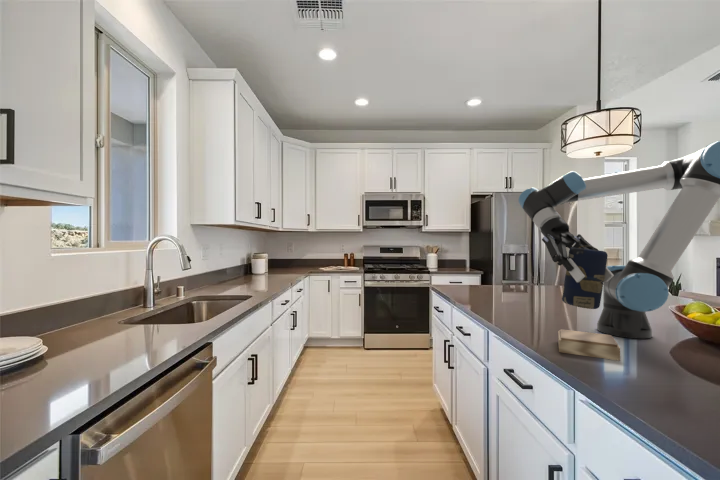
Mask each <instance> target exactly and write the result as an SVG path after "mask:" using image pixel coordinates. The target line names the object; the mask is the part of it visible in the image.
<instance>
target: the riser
mask: <svg viewBox="0 0 720 480" xmlns="http://www.w3.org/2000/svg"><path fill="white" fill-rule="evenodd" d="M557 333H558V334H557V340H558V341H557V342H558V352H559V353H564V354H570V355H577V356H578V355H579V356H584V357H592V358H597V359H606V360H611V361H612V360H613V361H618V362H619V361H621V347H620V346H619V344H618V342H617V341H616V339H615V337H613V335H610V334H606V333H596V332H589V331H588V332H587V331H580V330H579V331H578V330H569V329H562V328H561V329H560V330H558V332H557Z"/></svg>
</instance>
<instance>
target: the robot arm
mask: <svg viewBox="0 0 720 480" xmlns="http://www.w3.org/2000/svg"><path fill="white" fill-rule="evenodd" d="M660 189H665V190H666V191H673V190H680V191H679V193H678V194H677V195H676V197H675V199H674V200H673V201H672V203H671V205H670V206H669V208H668V209H667V212H666V213H665V214H664V216H663V217H662V219H661V220H660V222H659V224H658V226H657V227H656V228H655V229H654V231H653V233H652V235H651V236H650V238H649V239H648V241H647V242H646V244H645V246H644V247H643V249H642V251H640V253H639V255H638V257H636V258H632V259H629V260H628V262H627V263H626V265H619V264H617V265H606V270H605V280H604V282H603V289H602V294H603V295H602V296H603V297H602V298H603V299H602V300H603V301H602V302H603V303H602V304H603V305H602V306H603V307H602V310H601V312H600V315H599V317H598V320H597V323H596V329H597V331H599V332H601V333H602V334H606V335H612V336H614V337H620V338H621V337H622V338H629V339H640V340H641V339H650V338H652V337H653V330H652V326H651V323H650V321H649V318H648V315H647V313H648V312H653V311H656V310H658V309H660V308H661V307H663V306H664V305H665V303H667V300H668V299H669V287H670V285H671V284H672V282H673V281H674V279H675V278H674V276H673V273H672V270H673V268H674V267H675V266H676V264H677V263H678V261H679V260H680V258H681V257H682V255H683V254H684V252H685V250H686V249H687V247H688V246H689V245H690V243H691V242H692V240H693V239H694V237H695V235H696V234H697V232H698V231H699V229H700V228H701V226H702V225H703V223H705V221H706V219H707V217H708V216H709V215H710V213H711V212H712V210H713V208H714V207H715V206H716V204H717V203H718V201H719V199H720V140H717V141H714V142H711V143H709V144H708V145H706V146H704V147H702V148H701V149H699V150H697V151H694V152H692V153H689V154H688V155H685V156H683V157H680V158H676V159H672V160H667V161H663V163H661V164H660V165H657V166H650V167H645V168H644V167H643V168H637V169H633V170H627V171H621V172H616V173H610V174H603V175H599V176H598V175H597V176H593V177H588V178H587V177H586V178H583V177H582V176H581V174H580V173H578V172H577V171H576V170H571V171H569V172H567V173H566V174H563V175H562V176H560V177H559V178H557V179H556V180H554V181H552V182H551V183H548V185H546V186H544V187H542V188H540V189H538V188H536V187H530V188H526V189H525V190H523V191H522V192H521V193H520V194H519V196H518V204H519V205H520V207H521V208H522V209H523V211H524V212H525V214H526V215H527V216H528V218H529V219H530V220H531V221H532V223H534V225H535V226H536V227H537V229H538V230H539V231H540V233H541V234H542V235H543V237H542V238H541V241H542V242H543V243H544V244H545V246H546V248H547V251H548V253H549V255H550V257H551V260H552V262H553V263H557V265H558V266H560V267H561V266H562V265H563V267H564V269H565V271H566V270H567V271H569V273H570V274H571V275H572V277H573V278H574V279H575V281H576V282H580V281H581V280H582V279H583V278H584V277H585V275H584V274H583V273H582V271H581V270H580V269H579V268H578V266H577V265H576V264H575V263H574V261H573V260H572V259H571V258H569V259H568V252H567V248H568V249H569V250H570V249H571V248H579V247H581V246H592V247H594V246H593V245H592V244H591V243H589V242H588V241H587V240H586V239H585V238H584V237H583V235H581V234H577V235H574V234H572V233H571V232H570V226H569V224H568V222H566V220H565V219H564V218H563V217H562V216H561V215H560V213H558V211H557V210H556V209H555V207H558V206H559V205H564V204H567V203H573V202H579V201H584V200H585V201H586V200H591V199H598V198H605V197H606V198H607V197H612V196H613V197H614V196H618V195H619V196H620V195H625V194H626V195H627V194H631V193H639V192H646V191H652V190H653V191H654V190H660ZM583 249H591V250H595V249H593V248H591V247H583ZM646 312H647V313H646Z"/></svg>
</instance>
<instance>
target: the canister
mask: <svg viewBox="0 0 720 480" xmlns="http://www.w3.org/2000/svg"><path fill="white" fill-rule="evenodd" d="M592 246H593V245H592ZM592 246H581V247H579V248H571V249H569V251H568V254H567V256H568V259H569V258H571V259H572V260H573V261H574V263H575V264H576V265H577V266H578V268H579V269H580V270H581V271H582V273H583V274H584V275H585V277H584V278H583V279H582V280H581V281H580V282H576V281H575V279H574V278H573V277H572V275H571V274H570V273H569V271H567V270H566V269H565V276H564V284H563V290H562V295H561V301H562V302H563V303H564V304H567V305H569V306H572V307H578V308H581V309H582V308H583V309H589V310H596V309H599V308H600V306H601V301H602V296H603V295H602V294H603V282H604V280H605V270H606V267H607V262H608V257H609V256H608V253H607V252H606V251H605V250H600V249H598V248H596V247H595V246H593V247H592ZM583 247H591V248H593V249H595V250H591V249H583ZM568 259H567V260H568Z"/></svg>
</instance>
